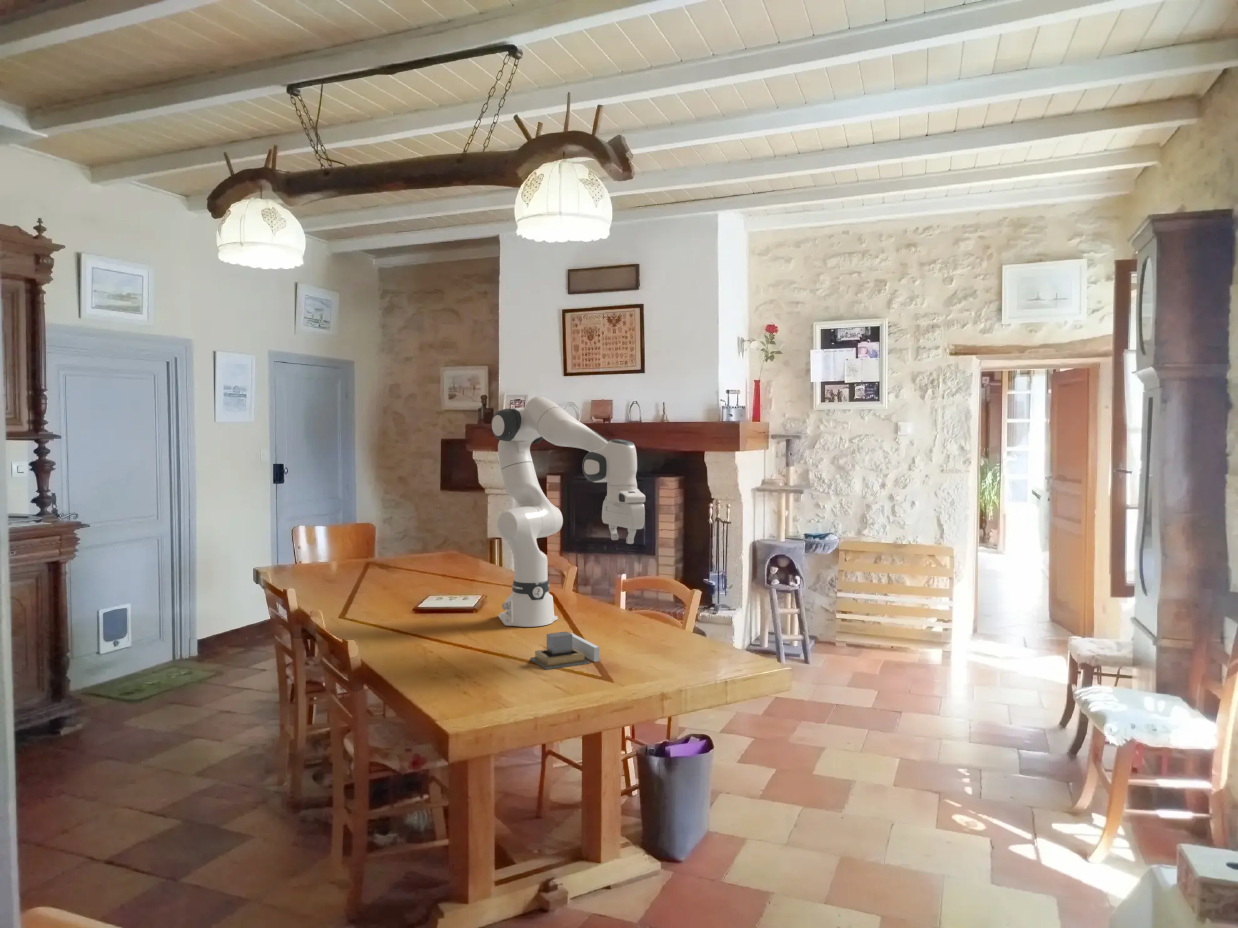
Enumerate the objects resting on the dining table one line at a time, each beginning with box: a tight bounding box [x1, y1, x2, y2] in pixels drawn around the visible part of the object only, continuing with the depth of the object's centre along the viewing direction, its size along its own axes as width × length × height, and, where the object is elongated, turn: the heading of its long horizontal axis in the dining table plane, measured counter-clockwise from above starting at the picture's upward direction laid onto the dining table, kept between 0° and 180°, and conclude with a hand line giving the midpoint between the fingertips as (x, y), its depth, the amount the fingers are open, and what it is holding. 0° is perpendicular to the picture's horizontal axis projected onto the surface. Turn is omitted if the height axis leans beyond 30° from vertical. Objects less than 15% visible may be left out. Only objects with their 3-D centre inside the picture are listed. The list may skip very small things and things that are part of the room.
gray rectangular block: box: [546, 630, 573, 657], centre depth 231 cm, size 4×6×7 cm, turn 118°
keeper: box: [529, 647, 590, 671], centre depth 231 cm, size 11×13×3 cm
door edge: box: [569, 632, 600, 663], centre depth 239 cm, size 18×2×4 cm, turn 28°
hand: (622, 541), depth 246 cm, fingers open, 8 cm apart
